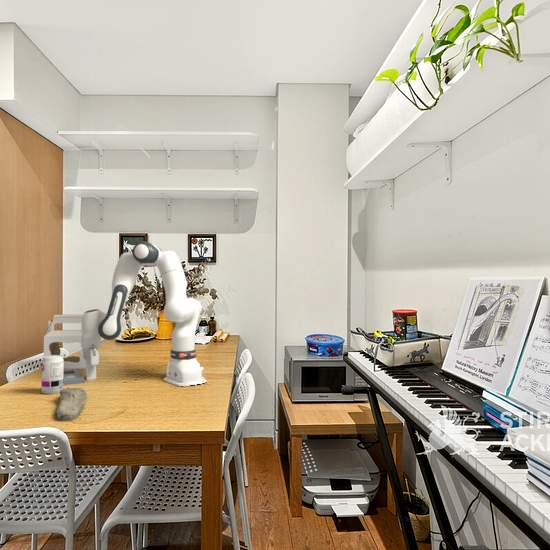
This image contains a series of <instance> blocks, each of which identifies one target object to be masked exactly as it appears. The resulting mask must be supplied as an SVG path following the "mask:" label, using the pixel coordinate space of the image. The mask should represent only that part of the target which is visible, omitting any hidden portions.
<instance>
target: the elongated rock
mask: <svg viewBox="0 0 550 550" xmlns="http://www.w3.org/2000/svg"><path fill="white" fill-rule="evenodd" d="M58 394H59V395H60V397H59V404H58V406H57V407H56V408H57V410H56V415H57V419H58V420H60V421H61V422H69V421H71V422H72V421H73V420H76V419H78V417H79V416H80V415H81V414H82V412H83V410H84V409H85V404H86V400H87V398H88V397H87V392H86V390H85V389H84V388H82V387H66V388H64V387H63V389H62V390H60V392H59V393H58Z"/></svg>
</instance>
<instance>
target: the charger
mask: <svg viewBox="0 0 550 550" xmlns="http://www.w3.org/2000/svg"><path fill="white" fill-rule="evenodd" d="M85 379H86V380H87V381H88V380H96V379H97V366H95V369H94V373H90V365H89V364H88V362H86V369H85Z"/></svg>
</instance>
